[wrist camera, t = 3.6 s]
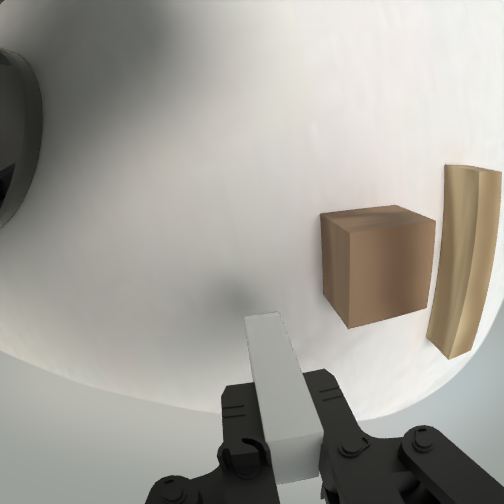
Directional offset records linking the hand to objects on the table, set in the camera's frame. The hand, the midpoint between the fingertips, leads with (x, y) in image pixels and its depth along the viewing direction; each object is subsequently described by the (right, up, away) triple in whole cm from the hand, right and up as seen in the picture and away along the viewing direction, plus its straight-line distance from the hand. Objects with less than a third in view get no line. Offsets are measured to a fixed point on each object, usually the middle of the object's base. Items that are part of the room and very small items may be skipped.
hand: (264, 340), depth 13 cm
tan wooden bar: (+17, +3, +9) cm, 20 cm away
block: (+7, +4, +8) cm, 12 cm away
